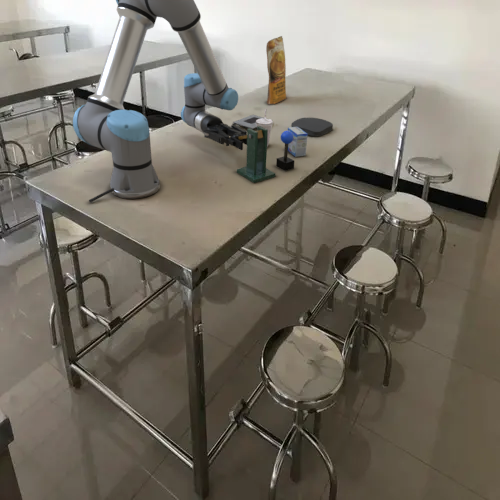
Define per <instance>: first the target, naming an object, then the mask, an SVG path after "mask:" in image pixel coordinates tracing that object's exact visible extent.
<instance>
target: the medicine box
mask: <svg viewBox="0 0 500 500" xmlns="http://www.w3.org/2000/svg"><path fill="white" fill-rule="evenodd" d="M287 131H290V132H292V133H293V136H294V138H293V141H292V142H291V143H289V144H288V153H290V155H292V156H293V157H294V158H297V157H299V158H300V157H306V155H307V146H308V145H307V144H308V136H309V135H308V134H307V133H306V132H304V131H303V130H302V129H300V128H299V127H291V126H289V127H287Z"/></svg>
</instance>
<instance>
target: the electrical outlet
mask: <svg viewBox="0 0 500 500" xmlns="http://www.w3.org/2000/svg"><path fill="white" fill-rule="evenodd" d="M262 118H264V117H263V116H260V115H256V114H251V115H248V116H244V117H241V118H240V119H238V120H235V121H232V124H233V123H234V124H236V126H238V127H242V128H245V129H249V128H250V129H252V130H255V129H257V125H256V120H257V119H262ZM266 119H268V118H267V117H266Z"/></svg>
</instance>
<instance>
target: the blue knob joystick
mask: <svg viewBox="0 0 500 500" xmlns="http://www.w3.org/2000/svg"><path fill="white" fill-rule="evenodd" d="M293 138H294V136H293V133H292V132H290V131H288V130H284V131H282V132H281V134H280V141H281V142H282V143H283V144H284V150H283V156H279V157H276V160H275V167H277V168H278V169H280V170H282V171H284V172H287V171H290V170H294V169H295V160H294V159H292V158H290V157H289V155H288V154H289V151H288V144H289V143H291V142H292V141H293Z"/></svg>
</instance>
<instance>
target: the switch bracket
mask: <svg viewBox="0 0 500 500" xmlns="http://www.w3.org/2000/svg"><path fill="white" fill-rule="evenodd" d="M258 130H262V134H263V138H259V139H258V132H256V131H258ZM246 131H247V145H246V164H245V165H246V166H243V167H239V168H237V169H236V173H237V174H239V175H240V176H242V177H244V179H247V180H248V181H250V182H252V183H253V184H256V183H259V182H262V181H265V180H270V179H272V178H275V177H276V172H274V171H272V170H270V169H269V168H267V156H268V155H267V154H268V147H267V137H268V130H267V129H265V128H263V127H261V126H257V128H256V130H255V129H253V130H252V129H250V128H249V129H248V128H246Z"/></svg>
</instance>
